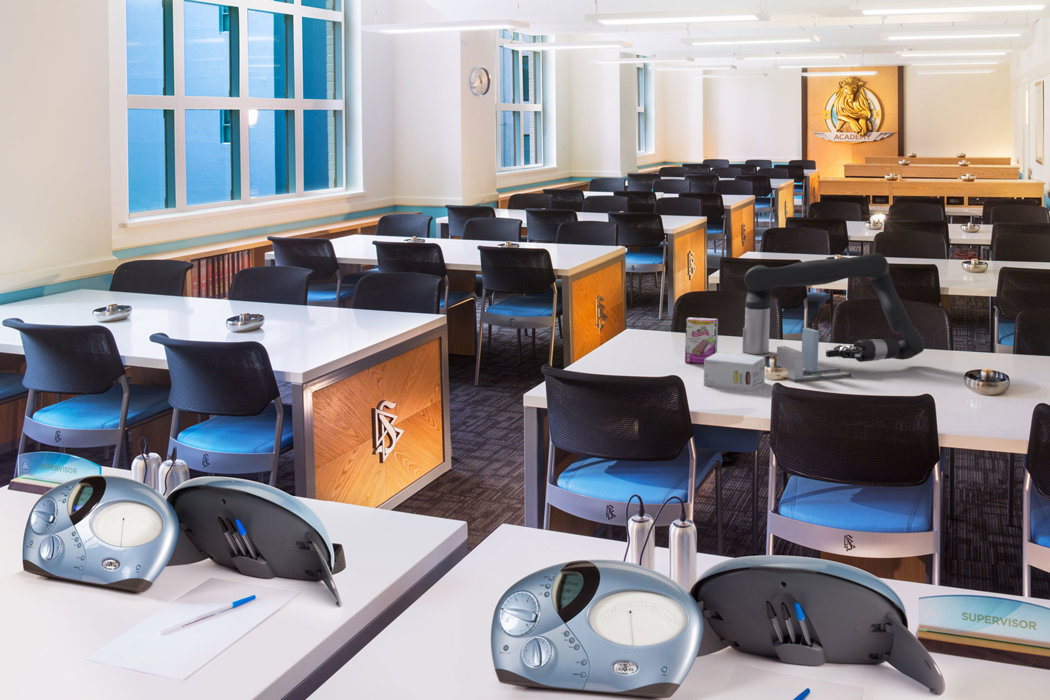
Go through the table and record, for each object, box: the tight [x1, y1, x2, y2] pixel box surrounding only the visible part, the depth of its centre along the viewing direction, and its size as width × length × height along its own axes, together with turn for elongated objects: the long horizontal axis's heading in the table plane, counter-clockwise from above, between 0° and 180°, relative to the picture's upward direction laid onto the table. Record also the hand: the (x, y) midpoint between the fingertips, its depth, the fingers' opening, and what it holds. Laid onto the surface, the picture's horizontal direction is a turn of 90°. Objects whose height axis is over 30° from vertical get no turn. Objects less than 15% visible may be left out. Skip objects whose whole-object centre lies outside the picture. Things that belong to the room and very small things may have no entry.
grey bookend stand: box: [776, 345, 853, 383], centre depth 350 cm, size 22×12×10 cm, turn 107°
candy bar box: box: [684, 316, 719, 365], centre depth 373 cm, size 11×5×16 cm, turn 71°
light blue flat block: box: [801, 327, 821, 375], centre depth 348 cm, size 2×10×14 cm, turn 17°
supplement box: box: [703, 351, 766, 392], centre depth 340 cm, size 17×13×9 cm
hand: (827, 353), depth 352 cm, fingers closed
